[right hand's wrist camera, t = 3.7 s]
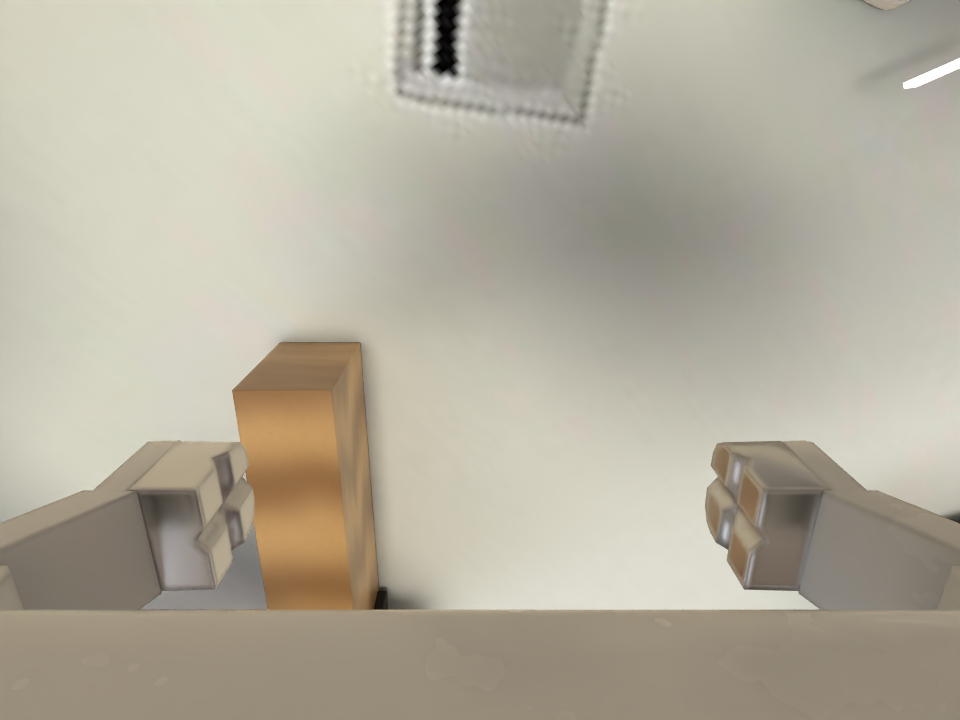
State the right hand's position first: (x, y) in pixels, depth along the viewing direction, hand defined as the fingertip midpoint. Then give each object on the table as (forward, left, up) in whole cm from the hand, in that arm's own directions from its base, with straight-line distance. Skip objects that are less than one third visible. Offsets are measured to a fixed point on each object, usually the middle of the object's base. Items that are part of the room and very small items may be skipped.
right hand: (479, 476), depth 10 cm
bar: (+21, +13, -30) cm, 39 cm away
